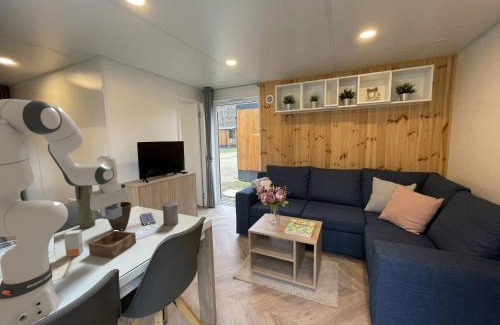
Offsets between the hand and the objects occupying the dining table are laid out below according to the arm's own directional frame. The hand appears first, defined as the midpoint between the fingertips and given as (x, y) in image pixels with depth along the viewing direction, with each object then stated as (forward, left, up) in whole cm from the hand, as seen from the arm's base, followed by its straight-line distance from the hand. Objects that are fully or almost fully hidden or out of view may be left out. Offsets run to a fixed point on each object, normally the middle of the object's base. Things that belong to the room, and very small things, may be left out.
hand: (111, 213), depth 115 cm
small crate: (0, 0, -2) cm, 2 cm away
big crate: (0, 0, -20) cm, 20 cm away
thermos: (+21, +42, -20) cm, 51 cm away
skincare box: (-9, +15, -20) cm, 27 cm away
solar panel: (+41, +11, -20) cm, 47 cm away
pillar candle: (+38, -10, -20) cm, 44 cm away
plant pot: (+22, +17, -20) cm, 34 cm away
